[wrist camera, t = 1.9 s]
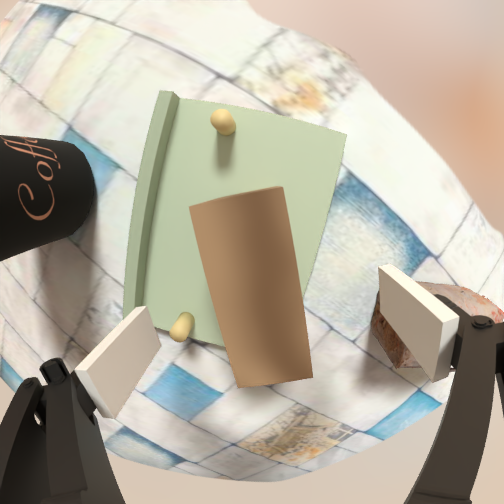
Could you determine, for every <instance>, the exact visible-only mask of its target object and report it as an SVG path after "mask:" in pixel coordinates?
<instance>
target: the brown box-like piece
mask: <svg viewBox="0 0 504 504" xmlns="http://www.w3.org/2000/svg"><path fill="white" fill-rule="evenodd" d="M189 211H190V215H191V220H192V224H193V228H194V232H195V237H196V241H197V245H198V249H199V253H200V257H201V261H202V265H203V269H204V273H205V276H206V280H207V284H208V288H209V292H210V295H211V299H212V303H213V306H214V310H215V313H216V317H217V320H218V324H219V327H220V331H221V334H222V338H223V341H224V344H225V348H226V351H227V354H228V358H229V361H230V364H231V367H232V371H233V374H234V377H235V380H236V383H237V386H238V388H244V387H253V386H262V385H269V384H277V383H283V382H290V381H296V380H302V379H307V378H313V373H312V364H311V356H310V348H309V341H308V333H307V326H306V319H305V312H304V305H303V298H302V292H301V285H300V279H299V273H298V267H297V261H296V255H295V249H294V243H293V237H292V232H291V226H290V221H289V215H288V210H287V205H286V199H285V194H284V189H283V187H281V186H274V187H269V188H263V189H258V190H253V191H248V192H244V193H239V194H234V195H229V196H225V197H220V198H216V199H213V200H209V201H206V202H202V203H199V204H196V205H192V206H189Z"/></svg>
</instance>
